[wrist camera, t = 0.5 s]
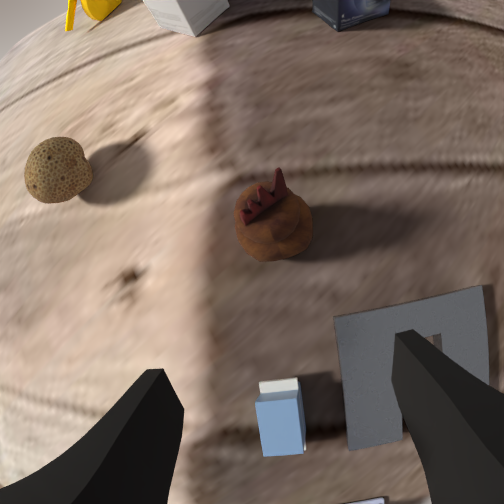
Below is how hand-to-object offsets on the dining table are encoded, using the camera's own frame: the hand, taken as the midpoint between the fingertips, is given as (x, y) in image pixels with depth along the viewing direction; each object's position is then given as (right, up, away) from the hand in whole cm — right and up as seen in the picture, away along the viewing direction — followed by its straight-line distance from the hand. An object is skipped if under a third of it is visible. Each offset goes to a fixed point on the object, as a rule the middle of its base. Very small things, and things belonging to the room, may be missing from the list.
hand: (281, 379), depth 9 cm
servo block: (+3, -12, +22) cm, 25 cm away
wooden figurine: (+2, +5, +25) cm, 25 cm away
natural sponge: (-25, +14, +31) cm, 42 cm away
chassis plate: (+16, -8, +20) cm, 27 cm away
